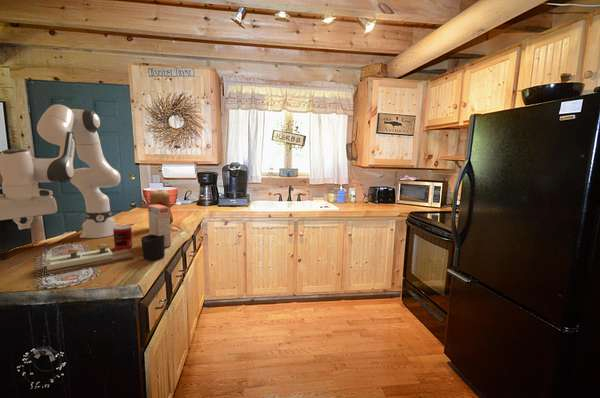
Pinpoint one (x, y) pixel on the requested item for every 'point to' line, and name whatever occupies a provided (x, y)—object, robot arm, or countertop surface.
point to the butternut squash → (161, 200)
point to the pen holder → (153, 247)
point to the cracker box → (160, 222)
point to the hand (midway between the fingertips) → (24, 228)
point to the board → (117, 257)
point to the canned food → (122, 237)
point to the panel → (77, 259)
